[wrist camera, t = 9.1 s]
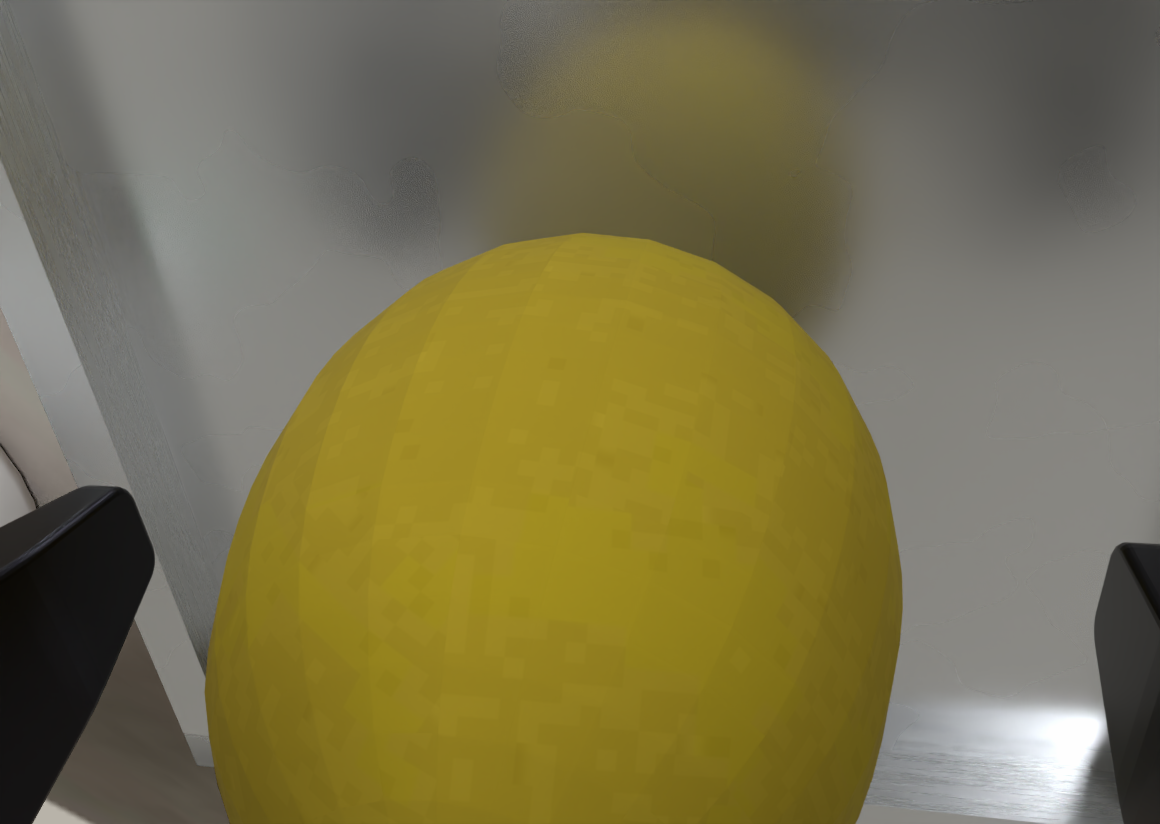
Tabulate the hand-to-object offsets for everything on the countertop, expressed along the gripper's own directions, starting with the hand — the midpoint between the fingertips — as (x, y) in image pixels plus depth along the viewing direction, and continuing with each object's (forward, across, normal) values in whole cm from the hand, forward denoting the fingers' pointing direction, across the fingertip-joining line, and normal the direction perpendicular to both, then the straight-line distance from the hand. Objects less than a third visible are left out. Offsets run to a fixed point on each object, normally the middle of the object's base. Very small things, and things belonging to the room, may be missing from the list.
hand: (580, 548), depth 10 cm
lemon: (+4, 0, 0) cm, 4 cm away
